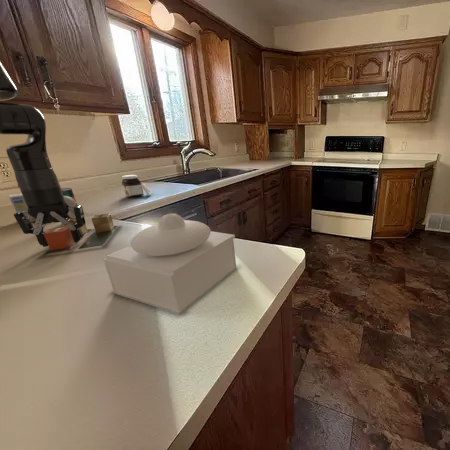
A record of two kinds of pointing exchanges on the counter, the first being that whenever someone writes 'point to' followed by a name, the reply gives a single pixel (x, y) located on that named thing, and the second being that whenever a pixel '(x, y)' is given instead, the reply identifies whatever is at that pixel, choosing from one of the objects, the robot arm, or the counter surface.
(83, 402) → the counter surface
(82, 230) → the tan wooden cube
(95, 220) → the tan wooden block
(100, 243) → the dark green flat slab
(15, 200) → the light bulb box
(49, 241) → the orange block
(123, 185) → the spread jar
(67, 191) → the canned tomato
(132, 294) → the butter dish
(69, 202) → the lightbulb
